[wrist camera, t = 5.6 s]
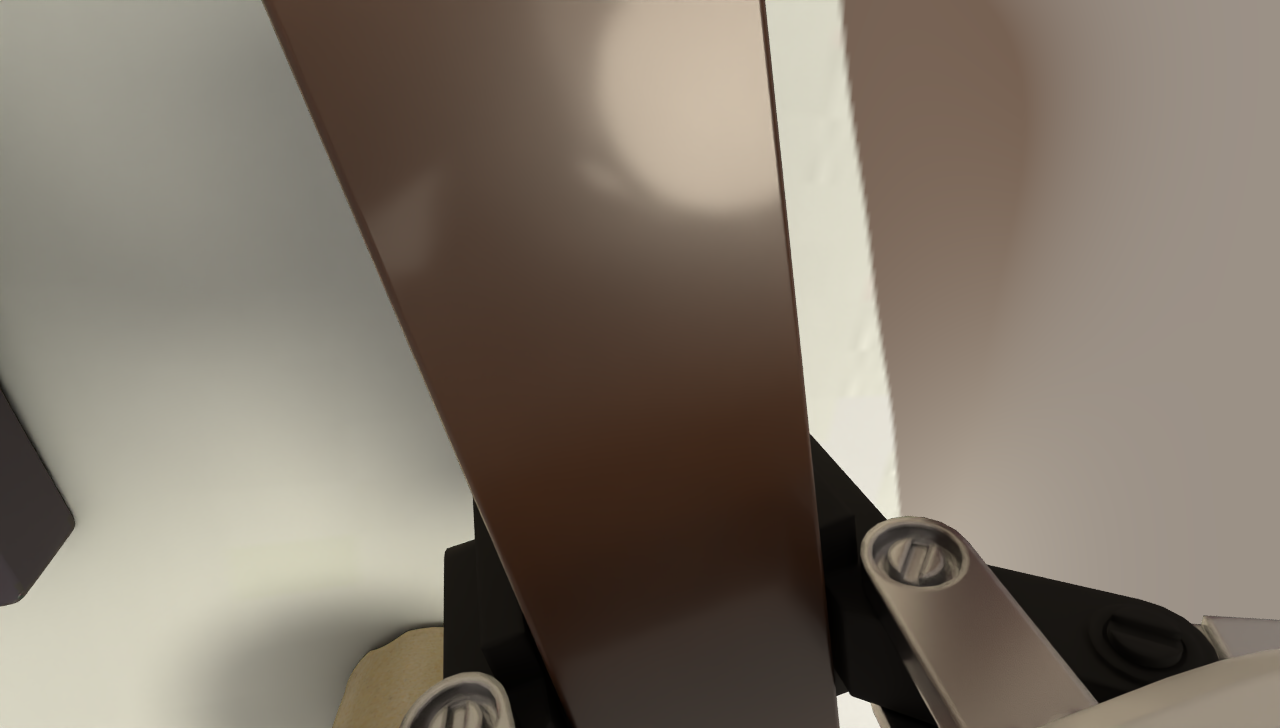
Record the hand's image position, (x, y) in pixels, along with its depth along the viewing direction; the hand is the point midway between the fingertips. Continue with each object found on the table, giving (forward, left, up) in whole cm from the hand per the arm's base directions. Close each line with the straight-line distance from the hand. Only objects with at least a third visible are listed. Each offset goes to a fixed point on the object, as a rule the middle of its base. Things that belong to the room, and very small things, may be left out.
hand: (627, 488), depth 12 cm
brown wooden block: (0, 0, 0) cm, 0 cm away
